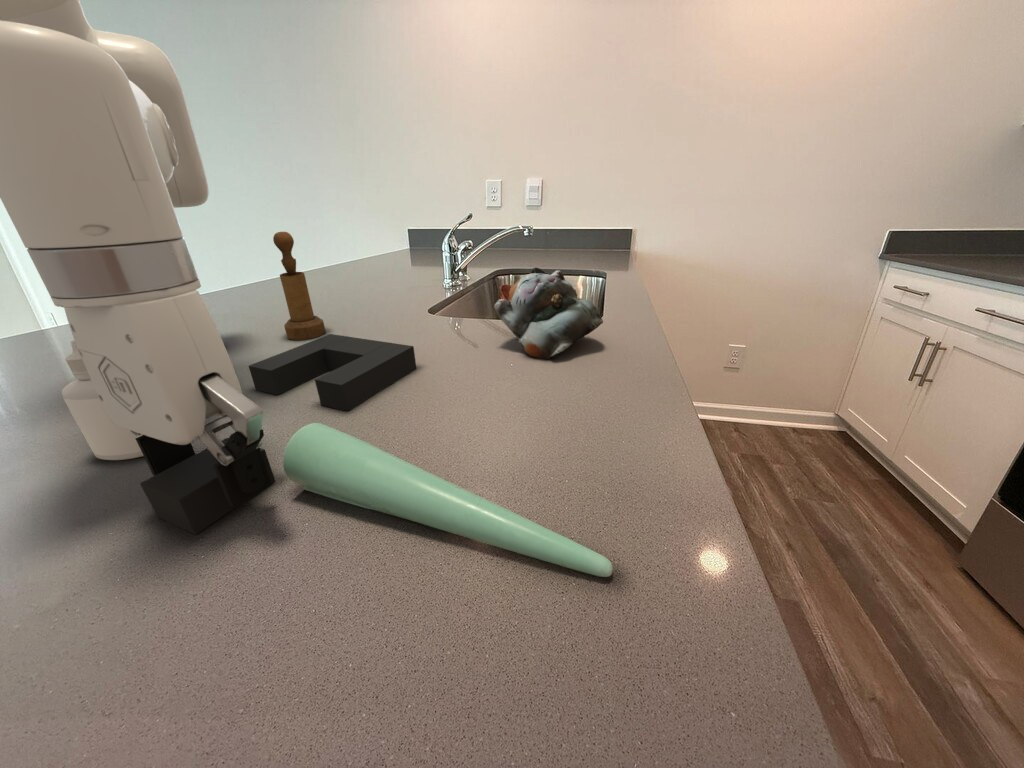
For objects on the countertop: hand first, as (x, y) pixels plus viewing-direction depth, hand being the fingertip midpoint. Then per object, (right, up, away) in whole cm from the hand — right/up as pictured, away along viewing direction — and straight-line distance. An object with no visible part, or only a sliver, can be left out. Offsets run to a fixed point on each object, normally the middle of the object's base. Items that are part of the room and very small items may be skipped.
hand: (212, 481), depth 34 cm
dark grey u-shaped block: (+1, +9, +23) cm, 25 cm away
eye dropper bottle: (-14, +1, +8) cm, 16 cm away
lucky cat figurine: (+31, +14, +34) cm, 48 cm away
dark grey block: (0, -2, +1) cm, 2 cm away
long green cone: (+19, -3, -2) cm, 20 cm away
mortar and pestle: (-13, +17, +42) cm, 47 cm away
